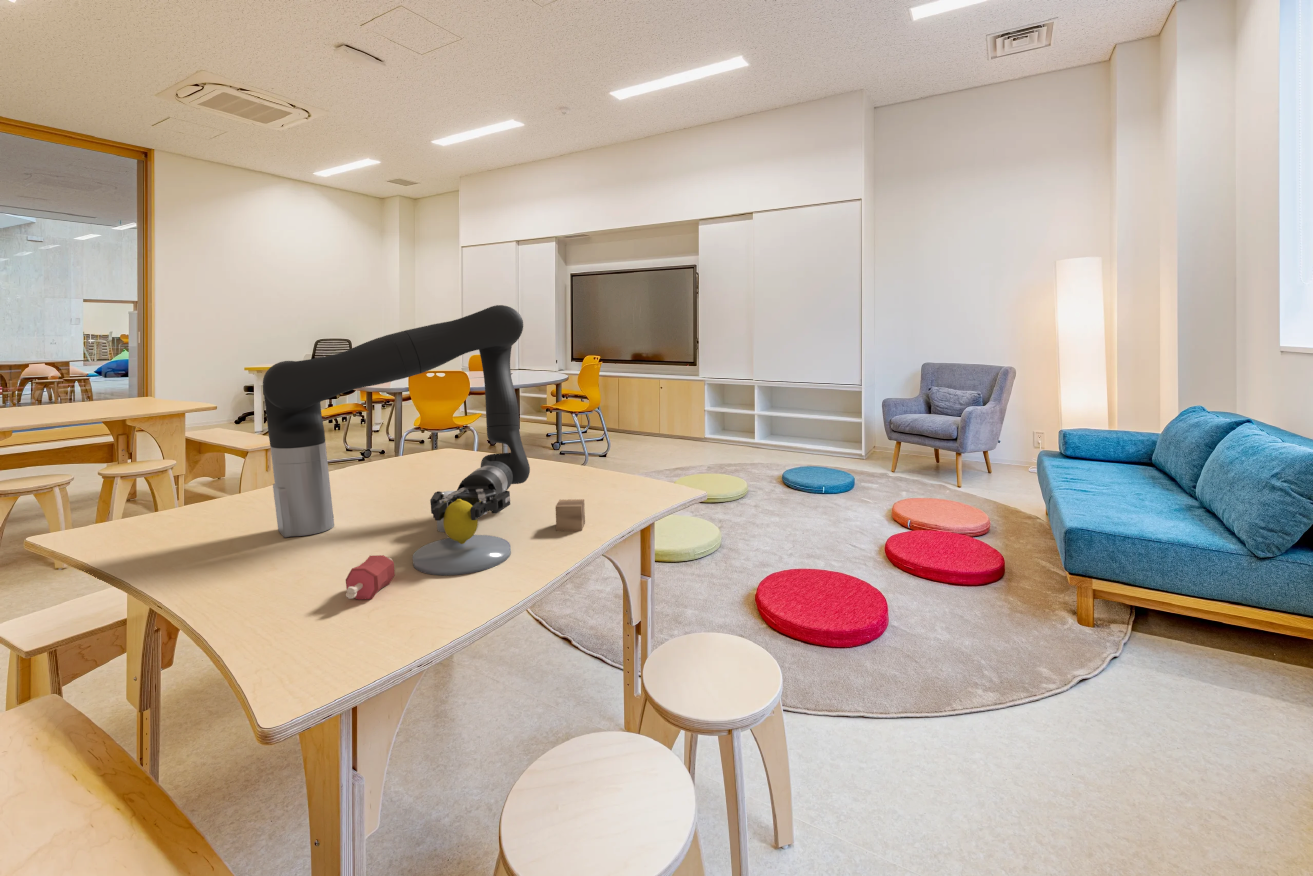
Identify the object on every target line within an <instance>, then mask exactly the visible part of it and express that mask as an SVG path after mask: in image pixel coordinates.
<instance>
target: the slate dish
mask: <svg viewBox="0 0 1313 876" xmlns="http://www.w3.org/2000/svg"><path fill="white" fill-rule="evenodd" d="M511 548H512V547H511V543H510V541H508V540H507V539H505V538H503V537H499V536H495V535H494V536H493V535H487V534H474V535H473V536H472V537H471V538H470V539H468V540H467V541H466V542H465V543H464V544H460V543H459V542H458V541H454V540H452V539H451V538H449V537H448V538H447V537H446V538H442V539H439V540H435V541H433V542H429V543H427V544H425V545H423V546H421V547H419V548H417V550H416V551H414V553H413V554H412V565H413V567H414V569H415V570H417V571H418V572H420V573H424V574H427V575H434V576H457V575H458V576H459V575H467V574H472V573H474V574H475V573H477V572H478V573H479V572H482V571H486V570H488V569H492V568H493V567H496V566H499V565H501V564H503V563H504V562H505V561H507V560H508V559H509V558H510V556H511V554H512V550H511Z"/></svg>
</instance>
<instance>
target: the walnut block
mask: <svg viewBox="0 0 1313 876" xmlns="http://www.w3.org/2000/svg"><path fill="white" fill-rule="evenodd" d="M585 509H586V508H585V499H583V498H582V499H581V498H579V499H576V498H575V499H572V498H571V499H559V500H558V501H557V503H556V505H555V526H556V527H555V529H556V532H571V531H573V532H574V531H577V532H581V531H583V530H584V527H585V524H586V510H585Z"/></svg>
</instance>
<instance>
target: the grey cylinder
mask: <svg viewBox="0 0 1313 876" xmlns="http://www.w3.org/2000/svg"><path fill="white" fill-rule="evenodd" d="M454 491H455V490H446V491H441V492H442V493H443V494H444V495H448V494H451V493H452V492H454ZM447 507H448V503H447ZM443 520H444V518H442V519H441V520H440V521H436V529H437V531H438V532H441V533H446V532H445V529H444V524H443Z"/></svg>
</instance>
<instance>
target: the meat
mask: <svg viewBox="0 0 1313 876" xmlns="http://www.w3.org/2000/svg"><path fill="white" fill-rule="evenodd" d="M395 575H396V573H395V563H394V560H393V559H392V558H391V557H387V556H385V555H384V554H383V555H380V554H379V555H369V556H368V557H367V558H366V560H365V561H364V562H362V563H361V564H360V565H357V566H356V567H352V568H351V570H350V571H349V573H348V575H347V577H346V578H345V586H346V587H345V588H346V593H345V597H346V598H347V599H348V600H351V599H356V600H373V599H374V597H375V595H376V594H377V593H378V592H379V591H381V589H383V588H384V587H385V588H386V587H387V586H389V585H390V583H391V582H392V580H393V579H394V577H395Z"/></svg>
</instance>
